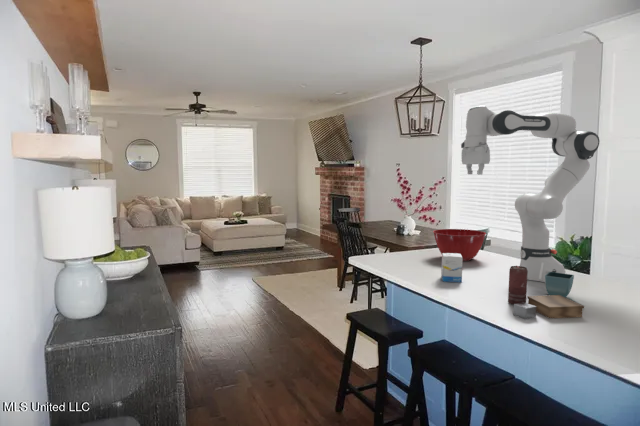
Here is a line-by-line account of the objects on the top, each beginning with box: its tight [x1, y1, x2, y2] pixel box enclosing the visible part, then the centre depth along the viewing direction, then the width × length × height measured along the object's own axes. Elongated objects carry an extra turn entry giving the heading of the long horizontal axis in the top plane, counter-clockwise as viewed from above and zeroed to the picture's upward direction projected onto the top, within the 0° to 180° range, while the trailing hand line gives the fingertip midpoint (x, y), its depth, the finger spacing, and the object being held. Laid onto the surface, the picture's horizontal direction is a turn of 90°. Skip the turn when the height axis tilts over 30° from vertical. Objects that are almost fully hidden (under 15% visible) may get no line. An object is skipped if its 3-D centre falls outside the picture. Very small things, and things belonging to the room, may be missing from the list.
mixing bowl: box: [432, 228, 487, 262], centre depth 237 cm, size 28×28×15 cm
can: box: [507, 265, 528, 306], centre depth 157 cm, size 6×6×14 cm
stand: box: [526, 294, 585, 319], centre depth 148 cm, size 13×13×4 cm
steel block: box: [512, 302, 537, 321], centre depth 144 cm, size 5×5×4 cm
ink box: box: [440, 253, 464, 283], centre depth 191 cm, size 9×8×12 cm
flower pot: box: [544, 272, 575, 298], centre depth 165 cm, size 9×9×9 cm
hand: (474, 174), depth 188 cm, fingers open, 8 cm apart
